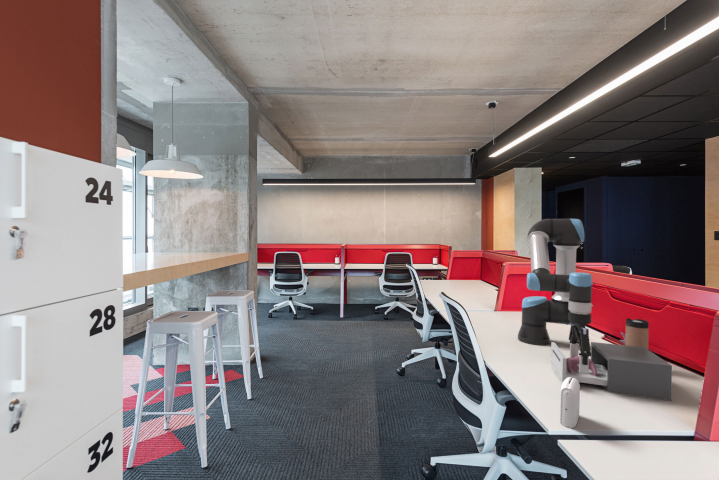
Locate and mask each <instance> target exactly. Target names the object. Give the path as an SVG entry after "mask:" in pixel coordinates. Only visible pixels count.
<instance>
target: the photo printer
mask: <svg viewBox="0 0 719 480" xmlns="http://www.w3.org/2000/svg"><path fill="white" fill-rule="evenodd" d="M580 384H581V383H580V382H578V380H577V379H575V378H571V377H568V378H566V379H565V380H564V382H562V383H561V387H560V406H559V407H560V408H559V411H560V412H559V413H560V414H559V421H560V424H561V425H562V426H564V427H566V428H570V429H573V428H575V427H576V426H577V423H578V420H579V416H580V398H581V397H580V396H581V392H580V391H581V386H580Z"/></svg>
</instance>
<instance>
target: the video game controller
mask: <svg viewBox="0 0 719 480" xmlns="http://www.w3.org/2000/svg"><path fill="white" fill-rule="evenodd" d="M577 364H580V355H578V356H572V357H570V356H569V357H566V365H567V369H568V371H569V373H571V372H572V369H573V370H574V371H578V370H579V366H578V365H577ZM589 369H590V370H591V371H592V373H593V375H594V376H596V375H597V371H596V367H595V364H594V362H593V361H592V360H591V358H589ZM588 371H589V370H588Z"/></svg>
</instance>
